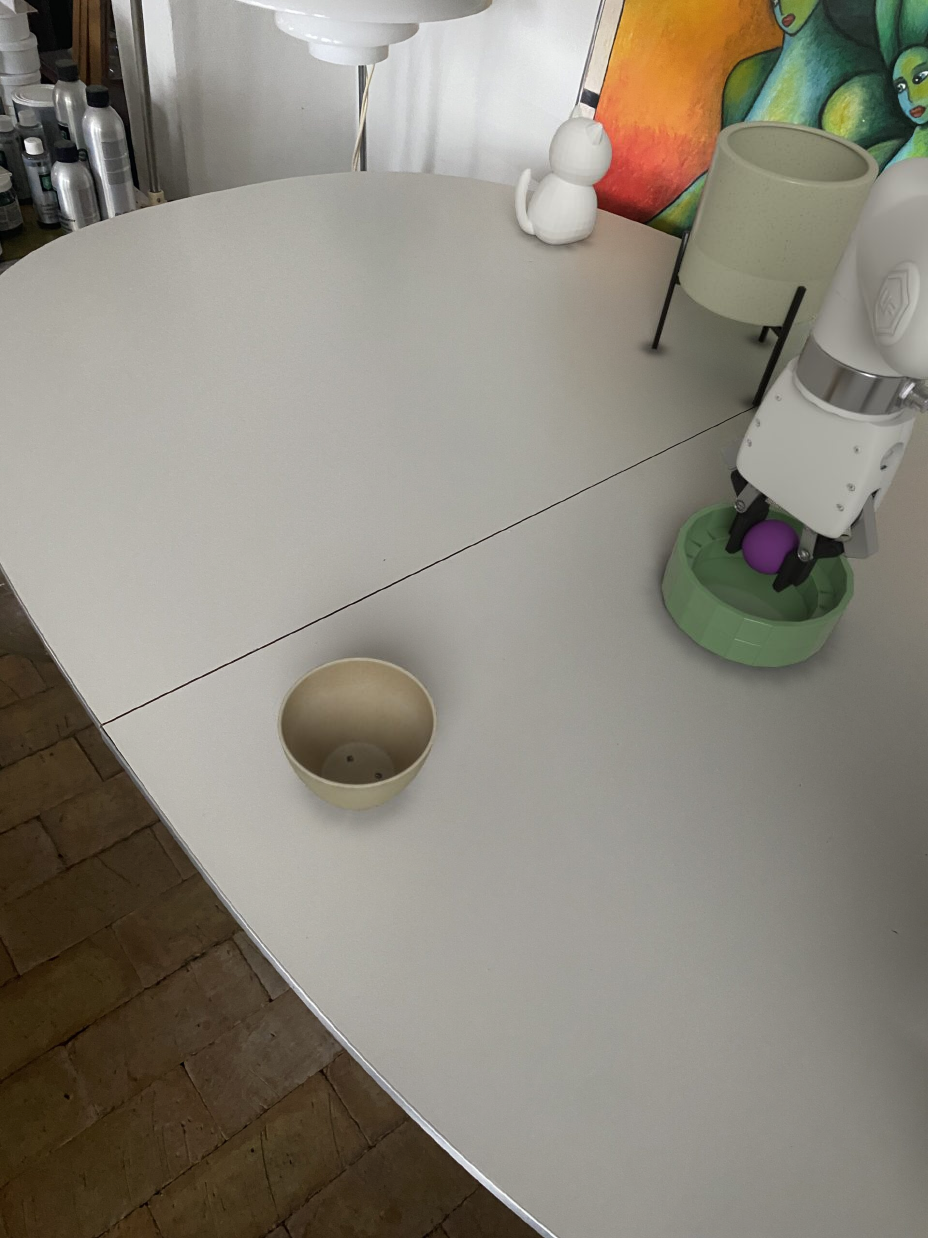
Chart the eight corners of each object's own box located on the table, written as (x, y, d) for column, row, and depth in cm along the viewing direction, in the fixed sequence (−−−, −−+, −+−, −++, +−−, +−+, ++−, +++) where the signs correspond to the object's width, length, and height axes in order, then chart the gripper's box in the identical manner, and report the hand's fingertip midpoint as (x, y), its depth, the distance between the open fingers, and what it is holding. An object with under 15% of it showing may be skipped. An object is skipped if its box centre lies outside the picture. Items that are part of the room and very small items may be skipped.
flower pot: (440, 834, 58) (448, 778, 53) (287, 851, 56) (279, 795, 51) (420, 711, 64) (426, 650, 59) (283, 723, 63) (275, 661, 57)
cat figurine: (609, 246, 116) (635, 125, 105) (525, 256, 113) (543, 132, 101) (578, 216, 122) (600, 98, 110) (497, 225, 118) (511, 103, 107)
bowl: (860, 624, 74) (889, 580, 70) (752, 699, 68) (776, 655, 64) (735, 527, 81) (755, 481, 77) (626, 586, 75) (641, 540, 71)
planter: (659, 315, 106) (717, 107, 88) (791, 344, 104) (876, 137, 86) (642, 382, 96) (704, 162, 78) (787, 416, 94) (883, 198, 77)
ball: (799, 572, 71) (820, 533, 67) (764, 593, 69) (784, 554, 66) (758, 540, 73) (776, 500, 70) (723, 560, 71) (740, 520, 68)
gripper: (1003, 419, 55) (874, 612, 68) (793, 296, 63) (716, 490, 77) (936, 458, 51) (815, 652, 65) (724, 323, 59) (657, 521, 73)
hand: (763, 563), depth 71 cm, fingers closed on ball, 4 cm apart
